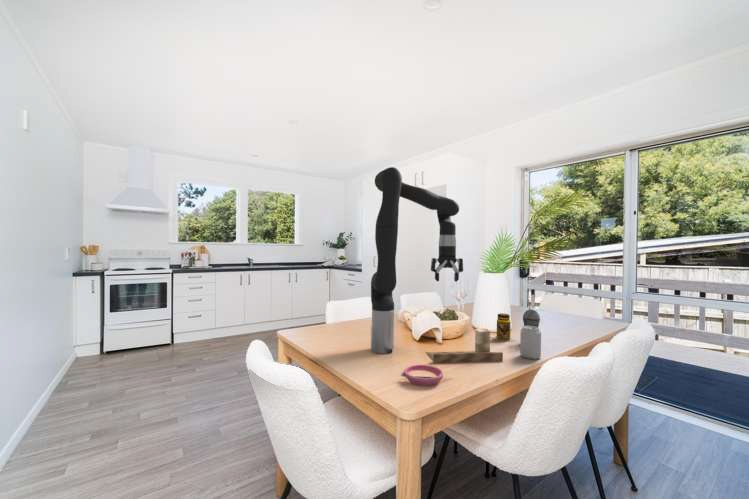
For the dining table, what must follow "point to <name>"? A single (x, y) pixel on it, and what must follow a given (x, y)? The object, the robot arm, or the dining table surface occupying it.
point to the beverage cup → (531, 317)
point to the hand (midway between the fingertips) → (446, 281)
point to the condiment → (503, 328)
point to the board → (465, 356)
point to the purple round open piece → (423, 380)
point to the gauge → (482, 340)
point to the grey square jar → (530, 342)
